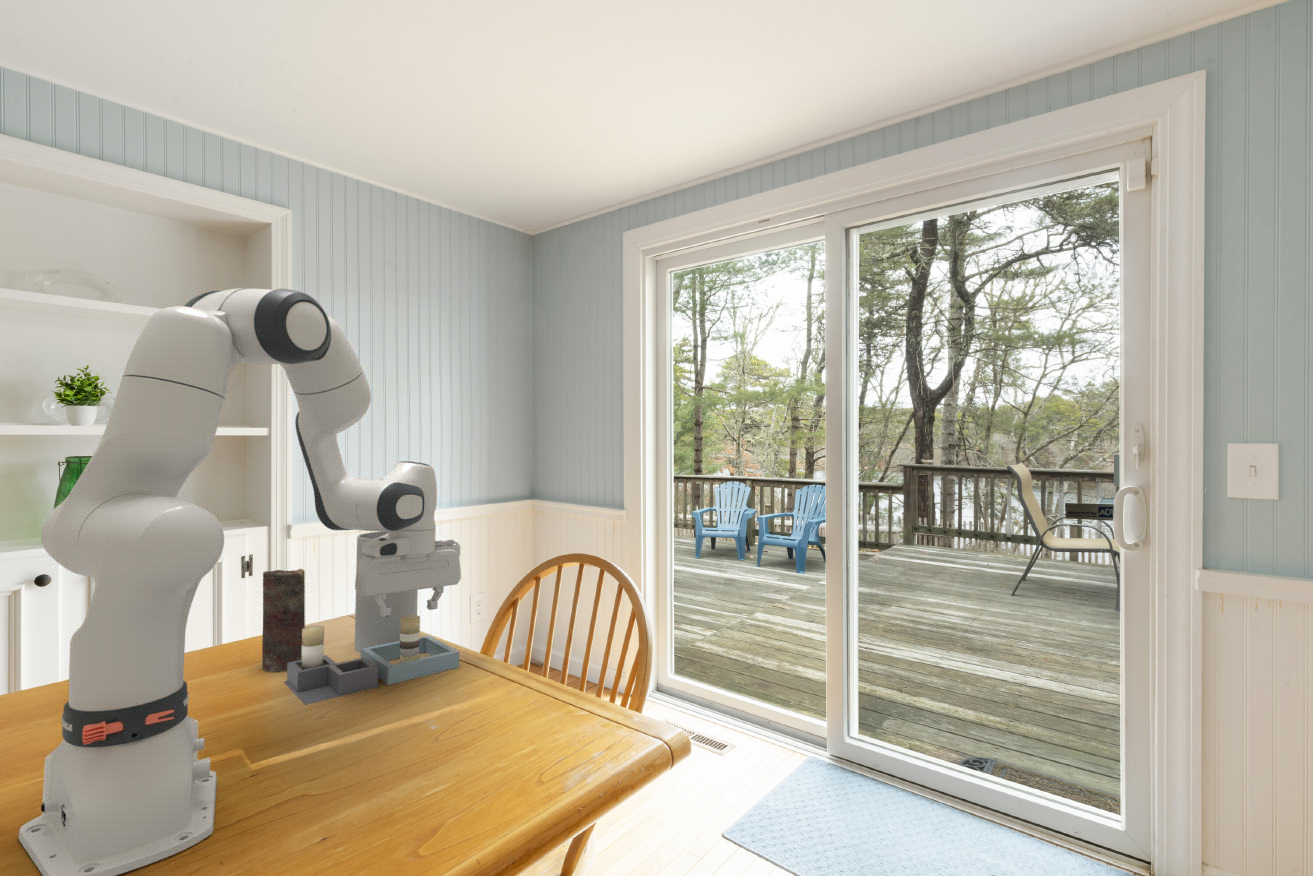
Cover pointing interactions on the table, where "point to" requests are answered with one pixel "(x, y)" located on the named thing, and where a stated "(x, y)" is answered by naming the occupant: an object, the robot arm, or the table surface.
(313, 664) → the cylinder
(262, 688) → the table surface
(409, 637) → the fuse
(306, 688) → the fuse holder
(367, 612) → the cylinder vase
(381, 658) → the parts tray
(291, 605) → the candle
